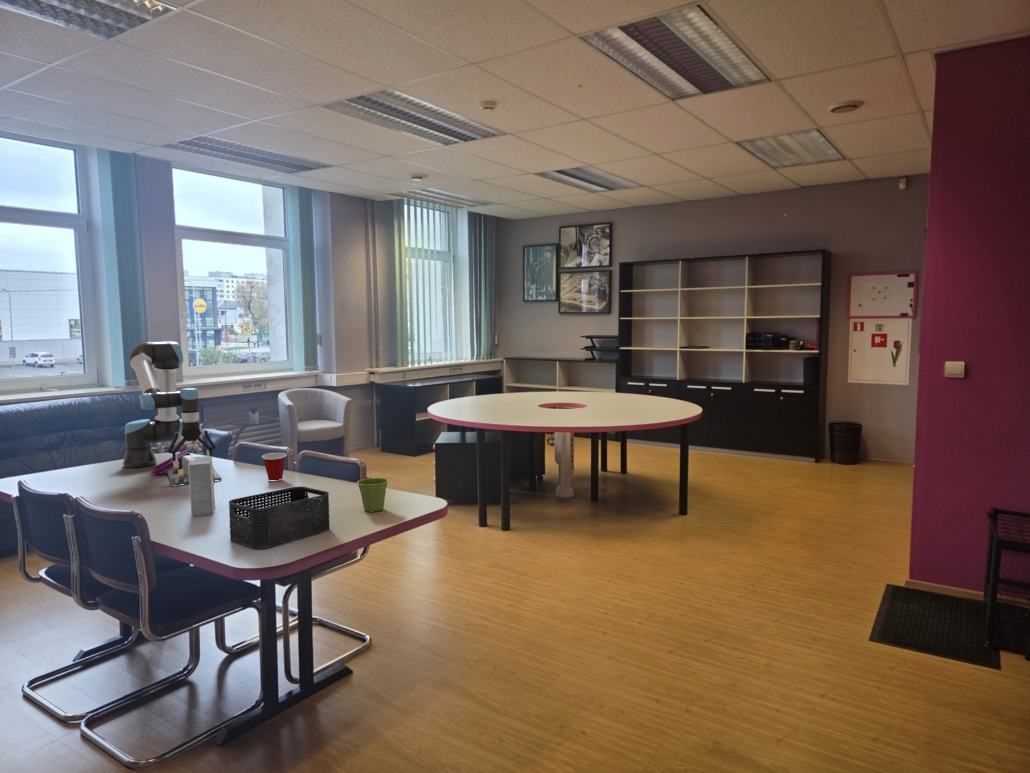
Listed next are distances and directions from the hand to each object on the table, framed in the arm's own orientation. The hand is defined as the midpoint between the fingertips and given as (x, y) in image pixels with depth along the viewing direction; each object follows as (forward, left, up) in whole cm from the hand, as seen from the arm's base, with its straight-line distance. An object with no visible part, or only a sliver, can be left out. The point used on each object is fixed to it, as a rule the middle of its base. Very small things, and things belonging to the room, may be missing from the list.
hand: (192, 465), depth 315 cm
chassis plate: (0, 0, -6) cm, 6 cm away
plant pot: (+104, +51, -6) cm, 116 cm away
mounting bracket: (-20, -7, -6) cm, 22 cm away
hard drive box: (+68, -4, -6) cm, 69 cm away
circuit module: (0, 0, -4) cm, 4 cm away
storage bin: (+116, +14, -6) cm, 117 cm away
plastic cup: (+29, +31, -6) cm, 43 cm away
